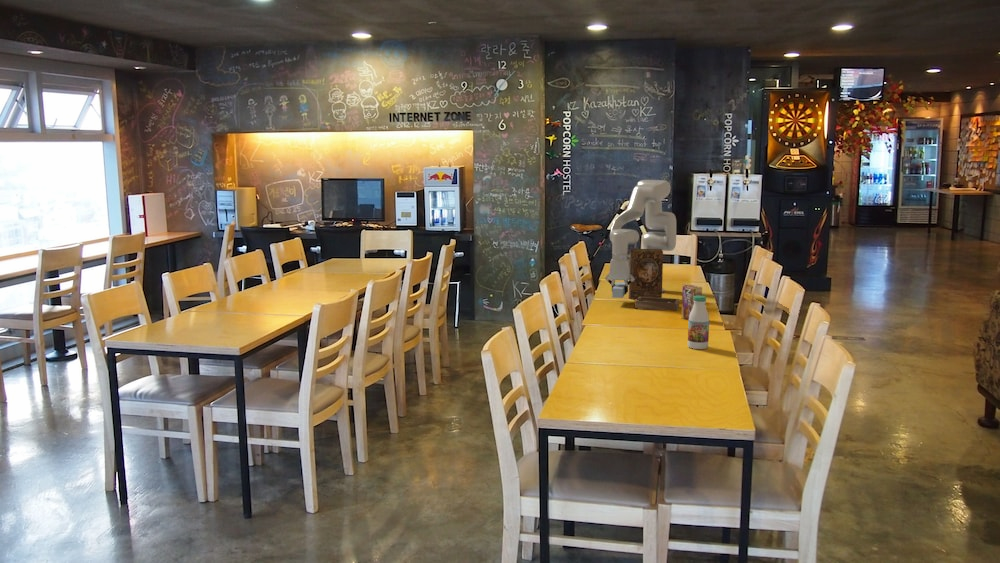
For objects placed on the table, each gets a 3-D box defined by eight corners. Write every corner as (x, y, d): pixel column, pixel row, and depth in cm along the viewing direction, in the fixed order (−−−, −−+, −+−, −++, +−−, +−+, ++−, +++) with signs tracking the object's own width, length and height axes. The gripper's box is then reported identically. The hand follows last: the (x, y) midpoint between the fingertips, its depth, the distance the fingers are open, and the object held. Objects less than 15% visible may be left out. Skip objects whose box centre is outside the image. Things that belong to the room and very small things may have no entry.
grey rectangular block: (617, 290, 397) (617, 282, 396) (627, 291, 396) (627, 282, 395) (612, 297, 383) (612, 288, 382) (622, 297, 382) (622, 288, 381)
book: (628, 299, 401) (630, 250, 397) (628, 297, 406) (629, 248, 402) (661, 299, 399) (663, 250, 395) (660, 297, 405) (662, 249, 401)
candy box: (701, 321, 351) (702, 287, 348) (693, 322, 349) (695, 287, 346) (688, 317, 359) (689, 283, 356) (680, 318, 357) (682, 284, 354)
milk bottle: (684, 345, 309) (686, 294, 305) (704, 344, 309) (706, 294, 306) (691, 350, 301) (693, 298, 298) (711, 349, 302) (713, 298, 298)
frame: (638, 303, 389) (638, 296, 389) (678, 305, 384) (679, 298, 383) (635, 308, 378) (635, 301, 377) (676, 311, 372) (676, 303, 371)
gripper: (638, 256, 386) (638, 292, 390) (603, 255, 391) (603, 291, 395) (636, 258, 379) (636, 295, 383) (601, 257, 384) (601, 294, 388)
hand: (619, 293), depth 389 cm, fingers closed on grey rectangular block, 5 cm apart
